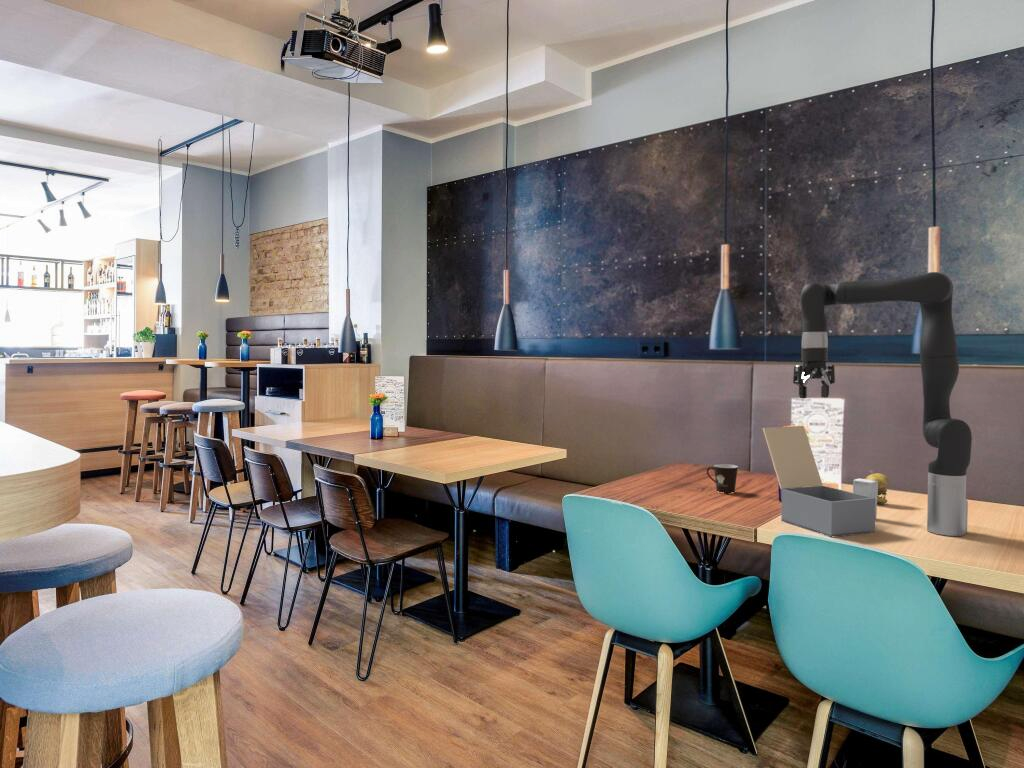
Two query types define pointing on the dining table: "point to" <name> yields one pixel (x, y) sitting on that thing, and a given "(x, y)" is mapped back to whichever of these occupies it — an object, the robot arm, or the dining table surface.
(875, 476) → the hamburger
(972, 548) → the dining table surface
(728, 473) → the coffee mug
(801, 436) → the carton flap
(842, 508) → the carton
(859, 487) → the skincare box
